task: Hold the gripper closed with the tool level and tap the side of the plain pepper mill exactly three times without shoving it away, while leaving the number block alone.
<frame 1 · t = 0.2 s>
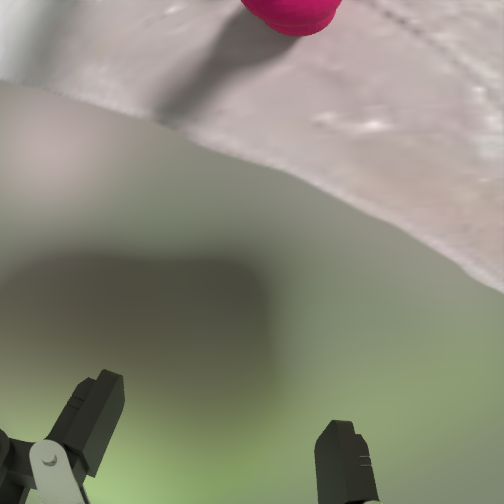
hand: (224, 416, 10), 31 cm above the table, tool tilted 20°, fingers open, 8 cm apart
pepper mill: (297, 5, 23), on the table
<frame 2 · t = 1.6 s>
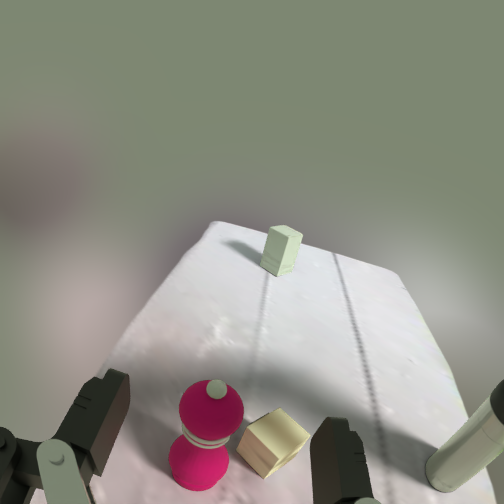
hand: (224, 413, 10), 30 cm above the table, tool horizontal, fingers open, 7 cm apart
pepper mill: (195, 472, 32), on the table
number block: (265, 455, 37), on the table
supplement box: (275, 269, 93), on the table
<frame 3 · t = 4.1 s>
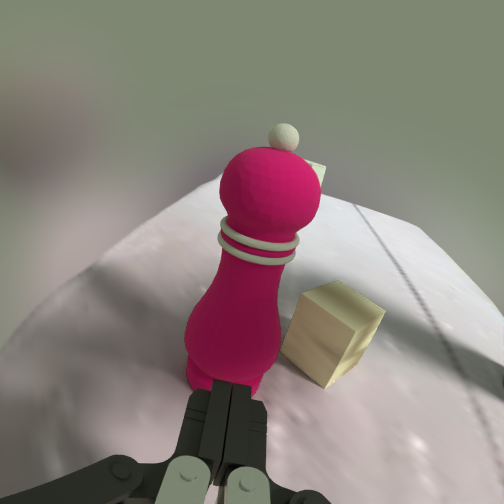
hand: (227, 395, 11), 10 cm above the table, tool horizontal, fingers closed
pepper mill: (222, 377, 25), on the table
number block: (319, 358, 29), on the table
supplement box: (297, 205, 85), on the table
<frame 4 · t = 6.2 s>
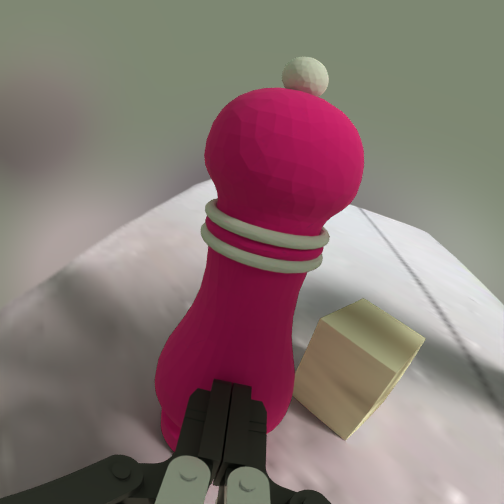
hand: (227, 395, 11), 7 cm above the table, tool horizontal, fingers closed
pepper mill: (210, 430, 17), on the table, touching gripper
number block: (337, 398, 22), on the table
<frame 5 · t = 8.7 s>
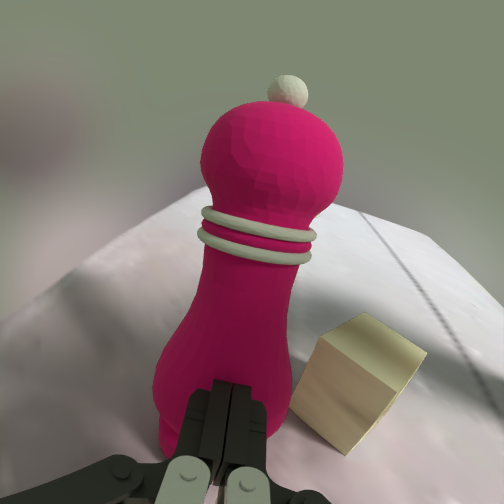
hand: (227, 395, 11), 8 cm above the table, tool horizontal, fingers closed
pepper mill: (209, 444, 16), on the table, touching gripper
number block: (338, 412, 21), on the table
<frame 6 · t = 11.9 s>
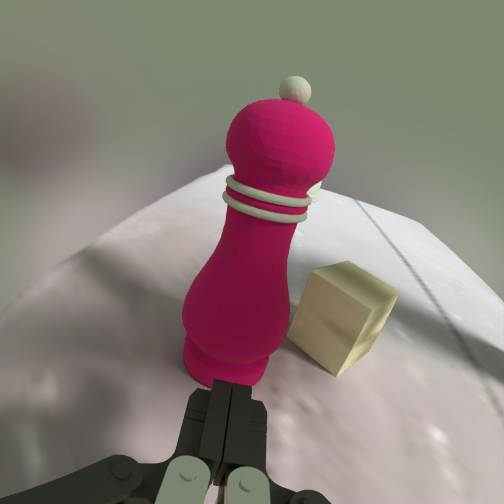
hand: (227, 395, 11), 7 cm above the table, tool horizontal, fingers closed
pepper mill: (223, 363, 23), on the table
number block: (329, 345, 27), on the table
supplement box: (298, 198, 83), on the table
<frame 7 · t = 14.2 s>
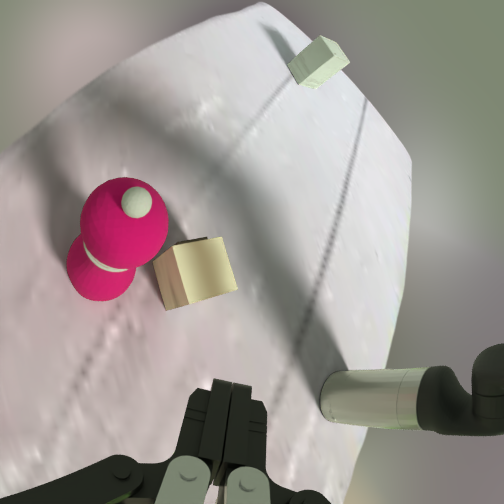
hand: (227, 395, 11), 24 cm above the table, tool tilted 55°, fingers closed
pepper mill: (96, 273, 31), on the table
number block: (180, 280, 37), on the table
supplement box: (300, 77, 68), on the table
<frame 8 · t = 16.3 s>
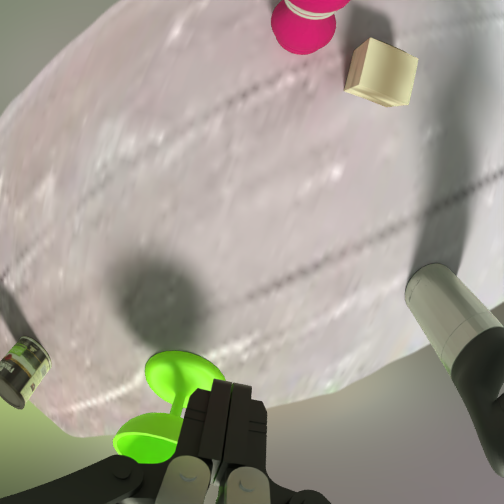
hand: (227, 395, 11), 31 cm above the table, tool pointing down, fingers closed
pepper mill: (300, 33, 31), on the table
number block: (370, 78, 32), on the table
coffee can: (35, 353, 56), on the table
wineglass: (185, 381, 54), on the table
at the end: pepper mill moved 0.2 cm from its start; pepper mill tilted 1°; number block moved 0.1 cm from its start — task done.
